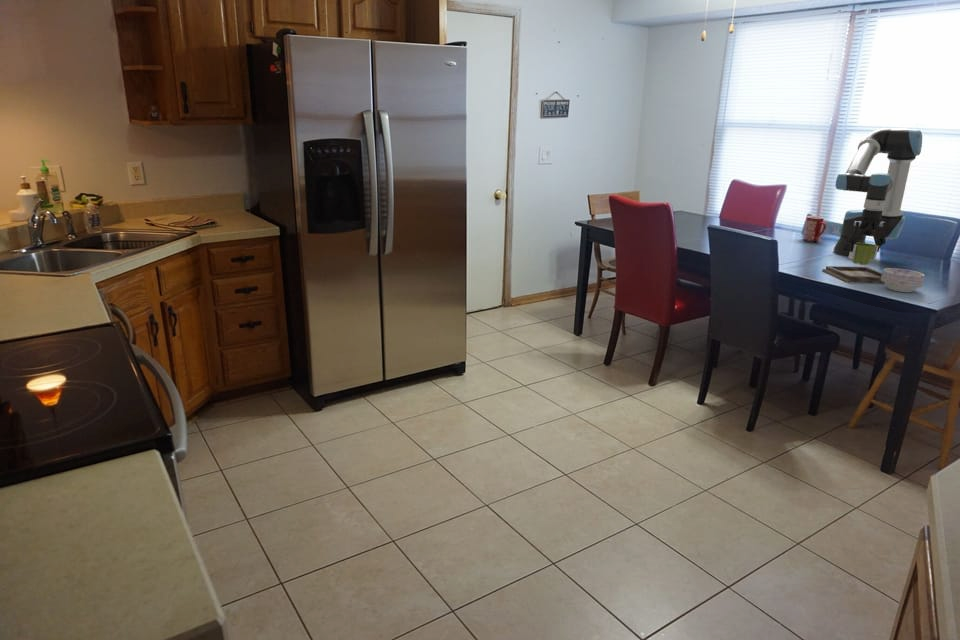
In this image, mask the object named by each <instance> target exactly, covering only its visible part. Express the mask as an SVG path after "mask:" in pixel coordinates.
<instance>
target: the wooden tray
mask: <svg viewBox="0 0 960 640" xmlns="http://www.w3.org/2000/svg"><path fill="white" fill-rule="evenodd" d="M821 271H822V272H823V273H826V274H828V275H830V276H832V277H835V278H837V279H839V280H841V281H843V282H845V283H849V282H855V284H856V282H860V283H859V284H885V283H884V282H883V281H881V276H882V272H880V271H878V270H875V269H873V268H871V267H869V266H853V265H852V266H850V265H848V266H847V265H845V266H844V265H826V266H825V268H822V270H821Z"/></svg>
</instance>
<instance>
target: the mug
mask: <svg viewBox="0 0 960 640" xmlns="http://www.w3.org/2000/svg"><path fill="white" fill-rule="evenodd" d="M824 220H825V217H821V216H817V215H815V216H814V215H809V216H806V222H805V233H804V237H803V238H804V239H805V240H804V241H806V240H807V242H813V241H816V242H819V239H820V237H821V236H822V235H823V234H824V233H825V231H826V229H827V223H826V222H825V221H824Z"/></svg>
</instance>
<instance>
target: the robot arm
mask: <svg viewBox="0 0 960 640" xmlns="http://www.w3.org/2000/svg"><path fill="white" fill-rule="evenodd" d="M922 146H923V133H922V131H921V130H919V129H912V128H889V127H888V128H887V127H885V128H880V129H876V130H874V131H872V132H870V133H868V134H867V135H866V136H864V137H863V138H862V139H861V140H860V142H859V144H858V146H857V152H856V154H855V155H854V157H853V159H852V161H851V163H850V165H849V166H848V168H847V170H846V171H845V172H841V173H838V174H837V177H836V180H835V189H836V190H839V191H849V192H858V193H866V196H865V200H864V204H863V208H864V209H850V210H847V211H846V212H845V214H844V217H843V219H842V220H843V222H842V226H841V231H840V236H839V239H838V240H837V242H836V243H835V245H834V248H833V251H832V252H833V253H834V254H837V255H840V256H846V257H848V259H850V260H853V259H854V255H855V251H856V246H857V245H855V244H856V243H866V238H867V237H872V238H873V241H874V244H873V243H872V244H873V245H876V246H877V247H876V248H875V250H874V252H873V254H872V257H871V259H870V260H874V261H875V260H876V259H877V254H878V253H879V252H880V248H881V247H882V246H883V245H885V244H886V240H887V239H888V240H895V239H897V238H898V237H899V236H900V234H901V232H902V229H903V227H904V224H905V222H906V216H905V215H904V212H903V211H902V210H901V208H902V204H903V198H904V194H905V190H906V185H907V181H908V176H909V172H910V168H911V163H912V162H913V161H915V160H916V157H917V156H920V154H921V152H922V148H923V147H922ZM878 154H887V157H886V158H887V159H888V160H889V165H888V168H887V169H888V170H887V173H883V172H882V173H881V172H873V173H872V174H870V175H867V174H866V173H867V171H868V169H869V167H870V165H871V164H872V161H873V160H874V157H875V156H876V155H878ZM903 215H904V216H903Z"/></svg>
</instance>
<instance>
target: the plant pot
mask: <svg viewBox="0 0 960 640" xmlns="http://www.w3.org/2000/svg"><path fill="white" fill-rule="evenodd" d="M855 245H857V246H856V251H855V255H854V259H853V263H854V264H855V265H857V264H859V265H860V266H861V265H862V266H867V265H869V264H870V262H871V260H872V259H871V257H872V254H873V252H874V250H875V248H876V247H877V246H876V244H875V245H873V243H866V242H865V243H856V244H855Z"/></svg>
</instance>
